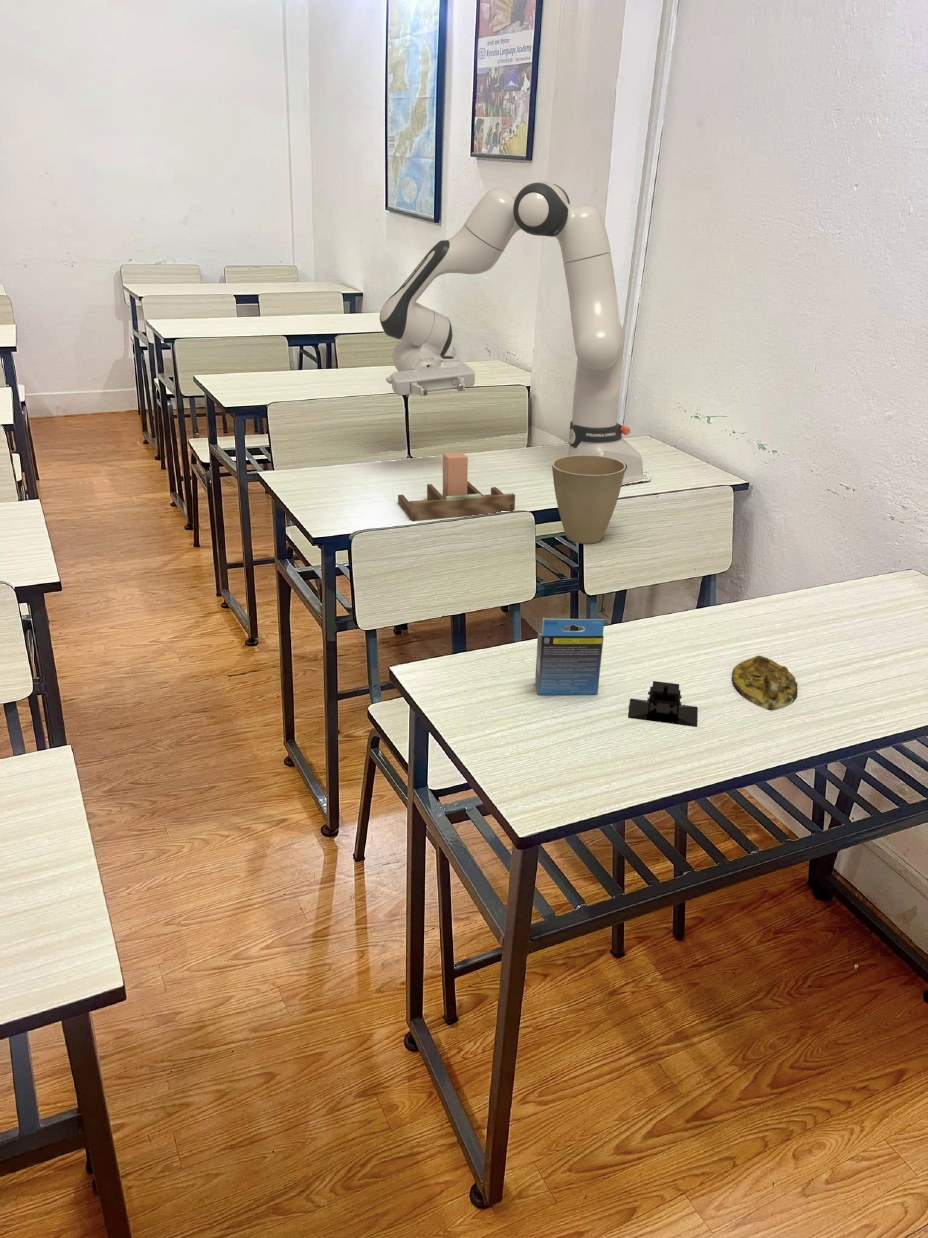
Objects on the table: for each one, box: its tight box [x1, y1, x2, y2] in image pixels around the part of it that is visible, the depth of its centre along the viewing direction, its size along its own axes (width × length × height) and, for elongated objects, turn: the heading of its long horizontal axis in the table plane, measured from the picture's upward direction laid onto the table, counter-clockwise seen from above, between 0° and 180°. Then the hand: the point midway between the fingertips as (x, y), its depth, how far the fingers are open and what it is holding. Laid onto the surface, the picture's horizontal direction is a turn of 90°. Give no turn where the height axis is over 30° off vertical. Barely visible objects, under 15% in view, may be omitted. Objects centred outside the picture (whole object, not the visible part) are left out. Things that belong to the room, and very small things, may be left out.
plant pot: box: [551, 455, 626, 545], centre depth 185 cm, size 15×15×16 cm
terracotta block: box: [442, 451, 469, 499], centre depth 204 cm, size 4×4×12 cm
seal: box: [731, 655, 798, 711], centre depth 132 cm, size 9×5×15 cm
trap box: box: [397, 480, 516, 522], centre depth 205 cm, size 24×13×5 cm, turn 108°
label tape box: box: [534, 617, 605, 696], centre depth 128 cm, size 9×4×12 cm, turn 92°
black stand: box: [627, 680, 699, 728], centre depth 125 cm, size 12×7×5 cm, turn 77°
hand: (443, 390), depth 210 cm, fingers open, 8 cm apart
